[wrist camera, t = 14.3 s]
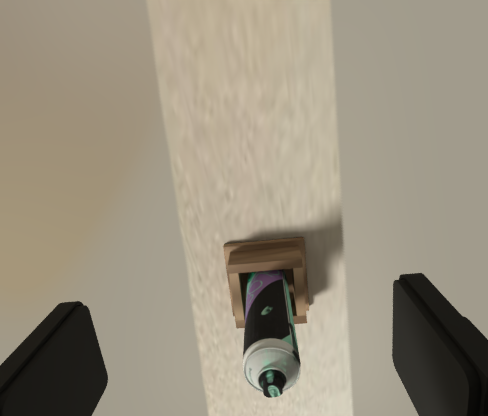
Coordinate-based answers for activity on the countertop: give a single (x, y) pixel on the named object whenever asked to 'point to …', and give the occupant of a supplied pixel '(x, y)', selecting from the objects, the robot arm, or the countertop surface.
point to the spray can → (270, 334)
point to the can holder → (263, 259)
